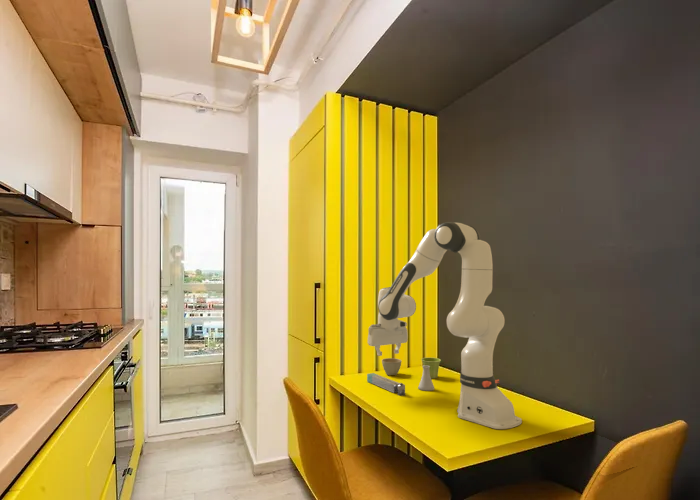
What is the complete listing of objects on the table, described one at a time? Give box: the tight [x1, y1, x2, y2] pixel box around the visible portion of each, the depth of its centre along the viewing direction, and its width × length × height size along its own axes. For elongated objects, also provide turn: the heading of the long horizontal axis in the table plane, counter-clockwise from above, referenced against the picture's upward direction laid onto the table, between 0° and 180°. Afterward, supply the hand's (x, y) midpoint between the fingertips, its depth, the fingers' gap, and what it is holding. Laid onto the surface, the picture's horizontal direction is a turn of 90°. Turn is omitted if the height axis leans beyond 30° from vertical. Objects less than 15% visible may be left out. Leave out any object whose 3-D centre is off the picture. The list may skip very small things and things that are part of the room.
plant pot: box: [421, 357, 442, 380], centre depth 194 cm, size 9×9×9 cm
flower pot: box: [381, 357, 402, 376], centre depth 199 cm, size 10×10×7 cm
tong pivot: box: [397, 382, 406, 397], centre depth 165 cm, size 3×3×5 cm
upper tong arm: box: [366, 373, 397, 394], centre depth 176 cm, size 21×2×4 cm, turn 31°
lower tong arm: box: [369, 372, 401, 385], centre depth 177 cm, size 21×2×4 cm, turn 32°
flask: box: [417, 365, 435, 392], centre depth 174 cm, size 7×7×10 cm
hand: (388, 354), depth 174 cm, fingers open, 8 cm apart
